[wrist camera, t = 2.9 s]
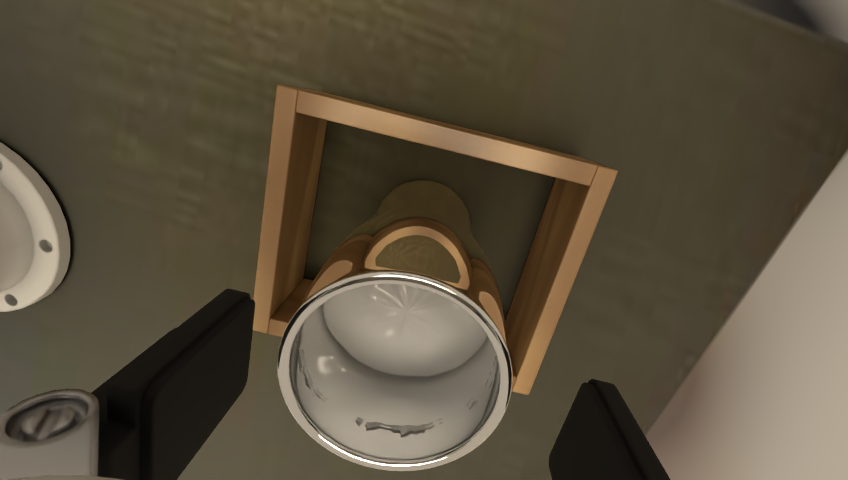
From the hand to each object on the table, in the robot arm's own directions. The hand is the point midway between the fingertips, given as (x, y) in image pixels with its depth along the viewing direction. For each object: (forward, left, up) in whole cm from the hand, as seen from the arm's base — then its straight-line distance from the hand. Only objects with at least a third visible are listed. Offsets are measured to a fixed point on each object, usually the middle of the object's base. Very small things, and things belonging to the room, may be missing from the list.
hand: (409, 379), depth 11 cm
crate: (0, 0, -15) cm, 15 cm away
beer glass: (0, 0, -15) cm, 15 cm away
